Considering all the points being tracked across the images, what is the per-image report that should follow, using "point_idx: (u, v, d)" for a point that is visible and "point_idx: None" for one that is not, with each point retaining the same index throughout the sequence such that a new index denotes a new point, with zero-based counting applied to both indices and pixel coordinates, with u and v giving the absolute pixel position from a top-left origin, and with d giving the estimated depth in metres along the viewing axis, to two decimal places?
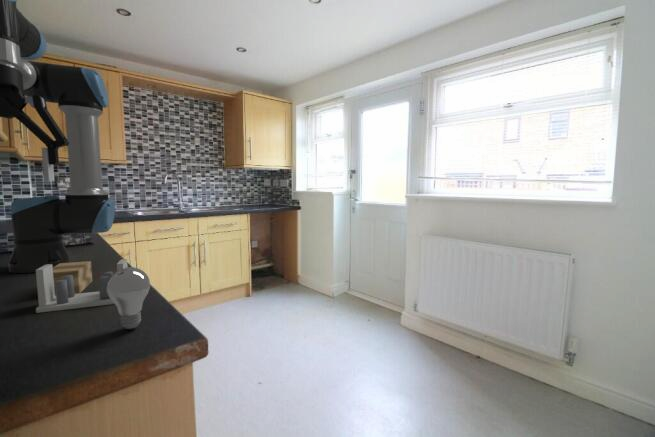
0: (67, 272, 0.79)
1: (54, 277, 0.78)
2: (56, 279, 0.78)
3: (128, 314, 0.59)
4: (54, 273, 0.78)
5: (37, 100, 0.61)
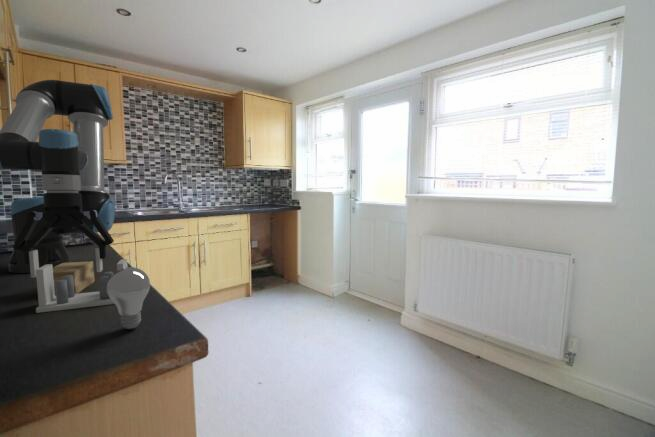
0: (64, 272, 0.78)
1: None
2: None
3: (128, 314, 0.59)
4: None
5: (92, 214, 0.83)
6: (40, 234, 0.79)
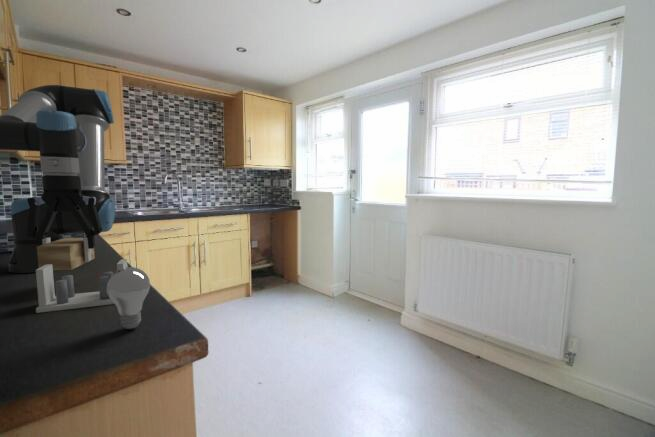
0: (59, 246, 0.78)
1: (47, 251, 0.77)
2: (49, 253, 0.77)
3: (128, 314, 0.59)
4: (47, 247, 0.77)
5: (91, 201, 0.83)
6: (47, 219, 0.80)
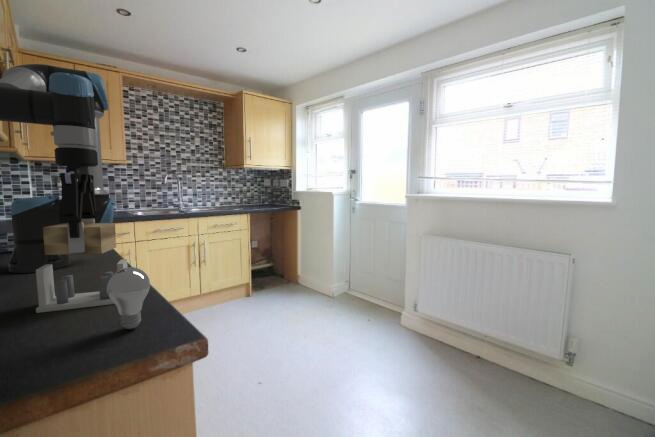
0: None
1: None
2: None
3: (128, 314, 0.59)
4: None
5: None
6: None
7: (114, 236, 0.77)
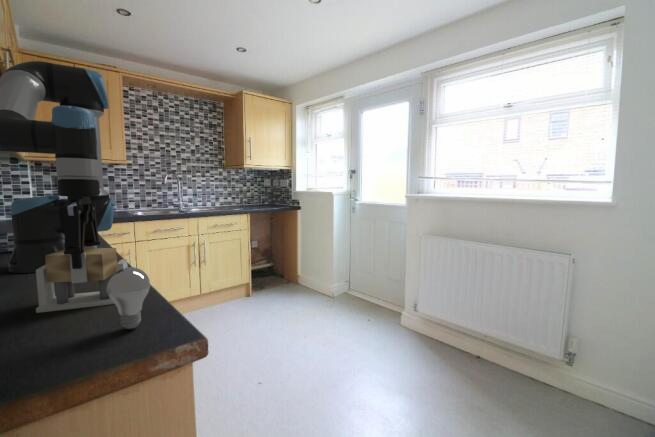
0: None
1: None
2: None
3: (128, 314, 0.59)
4: None
5: None
6: None
7: (115, 260, 0.77)
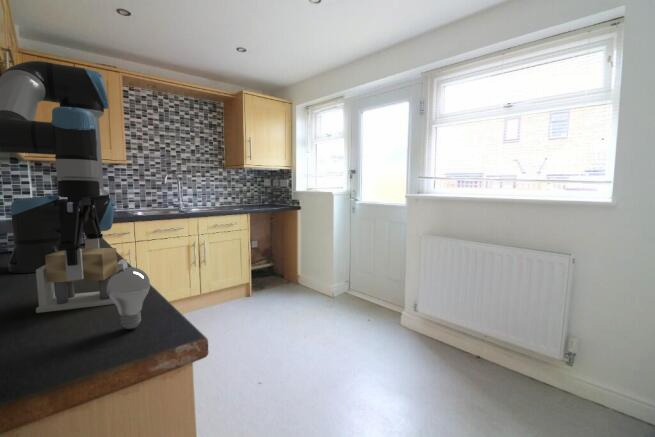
0: None
1: None
2: None
3: (128, 314, 0.59)
4: None
5: None
6: None
7: (115, 260, 0.77)
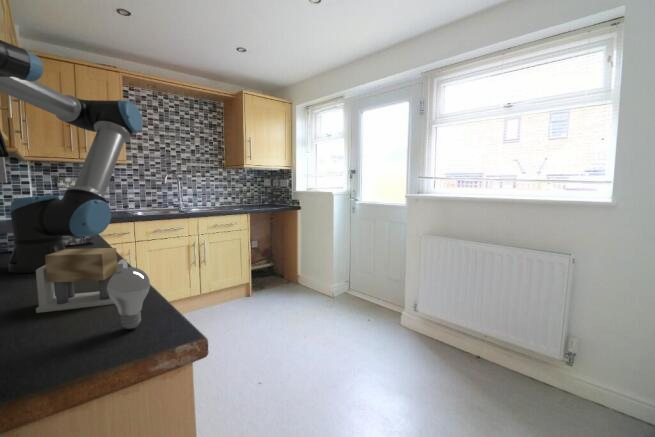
0: None
1: None
2: None
3: (128, 314, 0.59)
4: None
5: None
6: None
7: (115, 260, 0.77)
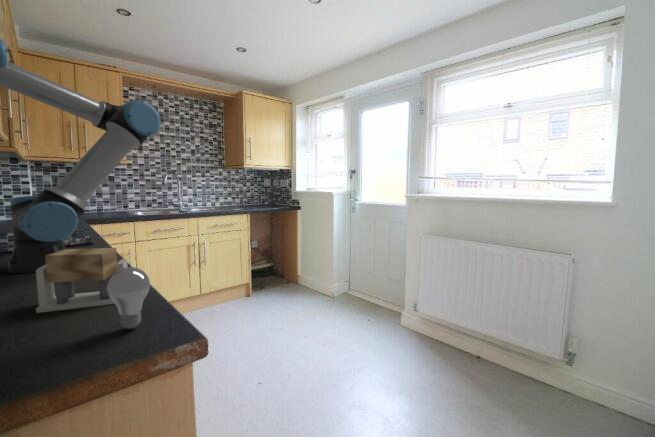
0: None
1: None
2: None
3: (128, 314, 0.59)
4: None
5: None
6: None
7: (115, 260, 0.77)
